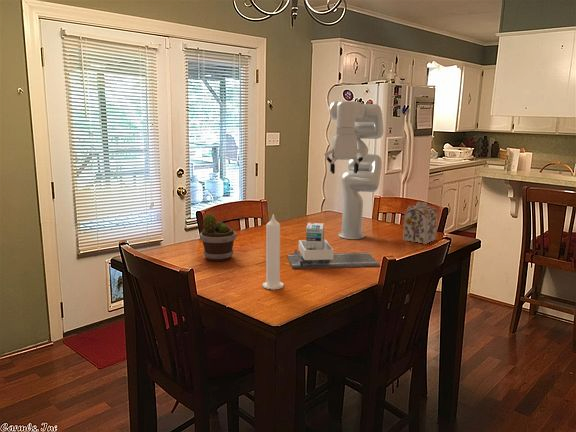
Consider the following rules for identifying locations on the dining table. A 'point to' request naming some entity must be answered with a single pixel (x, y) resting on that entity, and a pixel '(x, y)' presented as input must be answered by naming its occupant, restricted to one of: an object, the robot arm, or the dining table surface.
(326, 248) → the cart
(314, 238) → the light bulb box
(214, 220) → the flowerpot
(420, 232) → the decorative jar
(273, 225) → the candle
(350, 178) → the robot arm
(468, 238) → the dining table surface
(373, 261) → the track
